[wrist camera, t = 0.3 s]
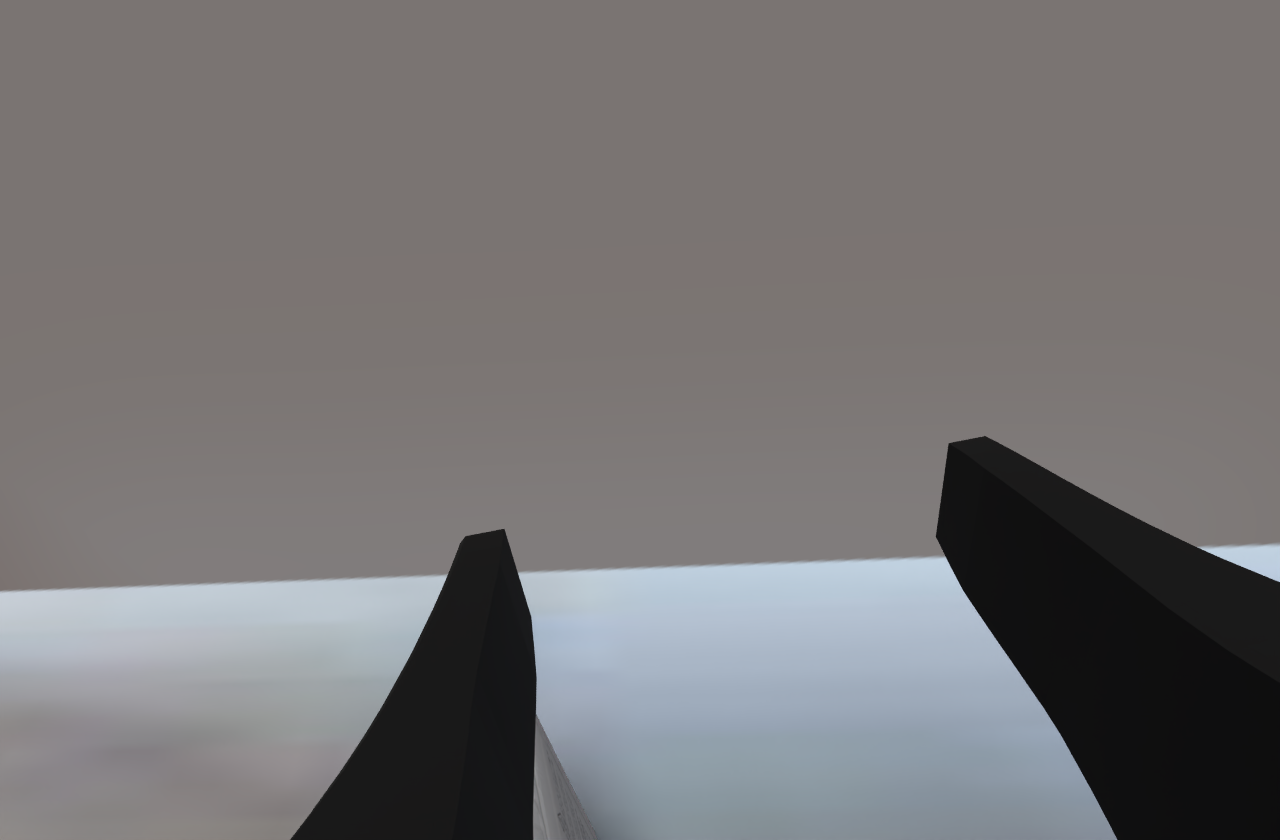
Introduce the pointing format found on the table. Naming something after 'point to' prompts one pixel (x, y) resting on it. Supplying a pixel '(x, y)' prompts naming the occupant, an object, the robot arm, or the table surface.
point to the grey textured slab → (555, 797)
